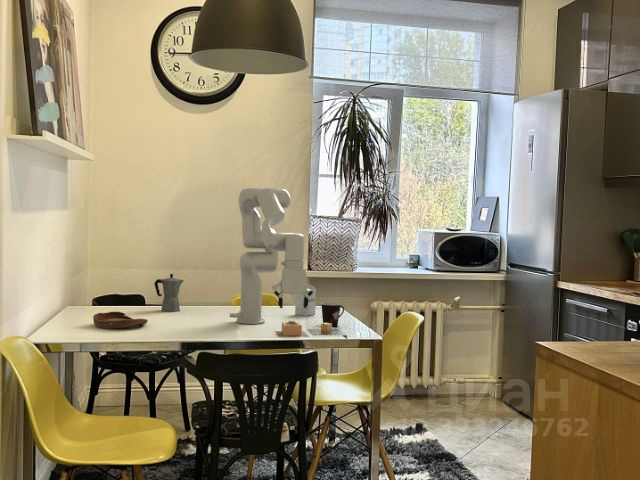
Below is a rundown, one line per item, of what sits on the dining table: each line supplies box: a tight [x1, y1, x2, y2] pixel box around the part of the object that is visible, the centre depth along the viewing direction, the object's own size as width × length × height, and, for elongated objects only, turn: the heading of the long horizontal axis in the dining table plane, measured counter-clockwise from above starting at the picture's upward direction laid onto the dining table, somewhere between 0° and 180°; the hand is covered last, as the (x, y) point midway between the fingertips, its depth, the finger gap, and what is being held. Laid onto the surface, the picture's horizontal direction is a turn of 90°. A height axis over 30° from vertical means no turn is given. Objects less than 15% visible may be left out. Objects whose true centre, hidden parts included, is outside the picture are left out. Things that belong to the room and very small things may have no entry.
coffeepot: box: [154, 273, 184, 313], centre depth 325 cm, size 15×9×18 cm, turn 129°
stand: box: [274, 320, 309, 338], centre depth 266 cm, size 12×12×6 cm
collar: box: [281, 321, 303, 335], centre depth 266 cm, size 7×7×4 cm
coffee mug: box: [320, 302, 345, 328], centre depth 297 cm, size 12×9×10 cm
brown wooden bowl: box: [92, 311, 149, 329], centre depth 277 cm, size 22×20×5 cm
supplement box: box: [294, 288, 317, 317], centre depth 329 cm, size 7×7×13 cm
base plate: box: [306, 322, 348, 340], centre depth 273 cm, size 14×14×5 cm
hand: (293, 307), depth 265 cm, fingers open, 9 cm apart
